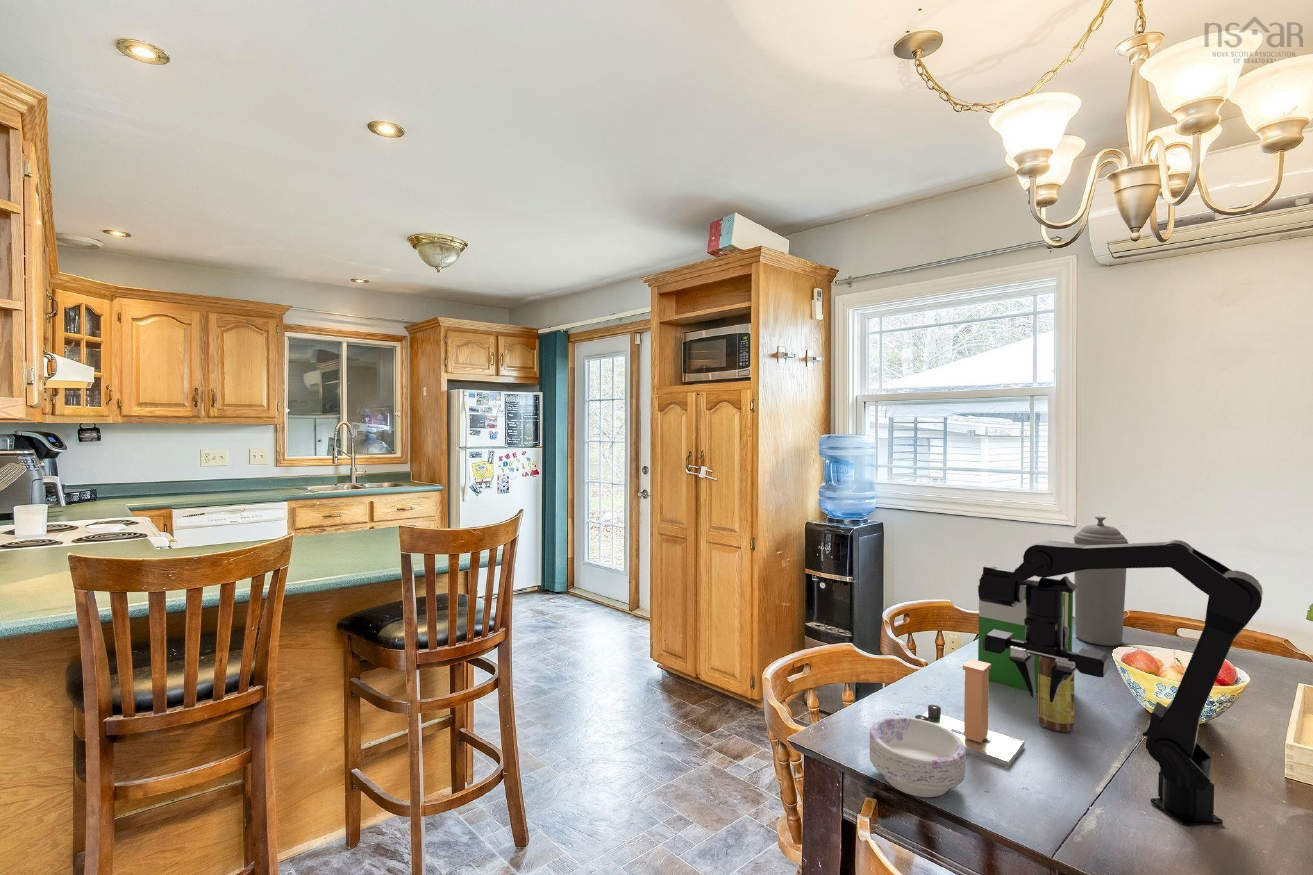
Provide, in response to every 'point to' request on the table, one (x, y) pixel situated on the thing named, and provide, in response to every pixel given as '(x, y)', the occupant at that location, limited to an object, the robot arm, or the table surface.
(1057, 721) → the sauce bottle
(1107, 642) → the canister
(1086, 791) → the table surface
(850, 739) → the table surface
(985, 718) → the fader tab
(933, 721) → the fader console
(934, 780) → the paper bowls
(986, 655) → the hardback book
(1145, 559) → the robot arm
